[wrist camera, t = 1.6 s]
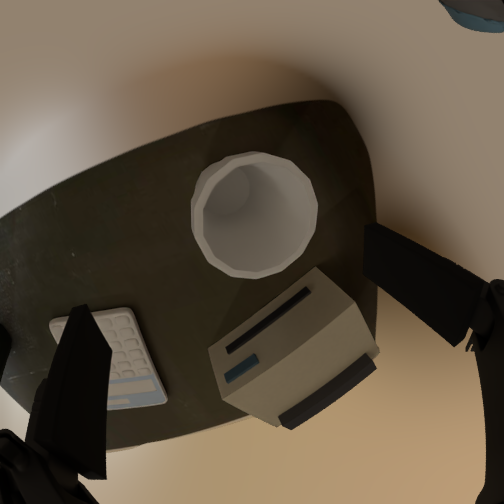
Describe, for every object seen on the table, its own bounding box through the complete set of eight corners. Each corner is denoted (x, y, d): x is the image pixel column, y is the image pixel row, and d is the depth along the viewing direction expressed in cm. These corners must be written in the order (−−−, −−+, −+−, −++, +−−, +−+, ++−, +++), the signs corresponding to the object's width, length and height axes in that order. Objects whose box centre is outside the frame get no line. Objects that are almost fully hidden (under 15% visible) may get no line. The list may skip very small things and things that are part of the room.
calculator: (131, 303, 33) (130, 311, 31) (169, 396, 41) (170, 404, 39) (48, 317, 30) (45, 324, 28) (101, 404, 38) (100, 412, 36)
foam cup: (174, 220, 31) (181, 270, 19) (192, 140, 28) (210, 139, 16) (251, 232, 34) (297, 283, 23) (271, 159, 31) (332, 174, 20)
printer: (314, 264, 39) (364, 308, 28) (346, 318, 46) (387, 360, 35) (205, 347, 39) (223, 410, 28) (257, 384, 46) (281, 436, 35)
